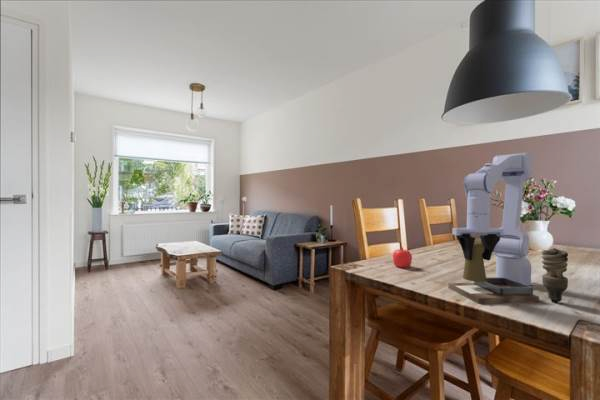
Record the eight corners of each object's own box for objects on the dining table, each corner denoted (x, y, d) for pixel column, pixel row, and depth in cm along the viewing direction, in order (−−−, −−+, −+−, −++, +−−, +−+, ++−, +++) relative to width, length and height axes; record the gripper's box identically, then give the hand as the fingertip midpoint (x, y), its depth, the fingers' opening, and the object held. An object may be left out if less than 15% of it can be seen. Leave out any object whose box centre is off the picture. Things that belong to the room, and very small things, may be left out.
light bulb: (539, 301, 77) (540, 247, 77) (541, 296, 81) (542, 245, 81) (567, 307, 73) (568, 250, 73) (567, 302, 77) (569, 248, 77)
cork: (466, 281, 81) (466, 243, 81) (460, 275, 87) (459, 240, 87) (490, 282, 79) (489, 244, 80) (481, 277, 85) (481, 241, 85)
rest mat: (476, 285, 86) (476, 285, 86) (493, 293, 79) (493, 292, 79) (455, 286, 85) (455, 285, 85) (471, 294, 78) (471, 293, 78)
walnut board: (500, 286, 90) (500, 282, 90) (538, 301, 77) (538, 296, 77) (448, 287, 88) (448, 283, 88) (478, 303, 75) (478, 298, 75)
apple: (416, 268, 112) (416, 249, 112) (397, 269, 111) (398, 249, 111) (406, 264, 120) (406, 245, 120) (388, 264, 119) (388, 245, 119)
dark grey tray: (503, 283, 89) (503, 277, 89) (534, 294, 78) (534, 287, 78) (473, 284, 88) (473, 277, 87) (500, 295, 77) (500, 288, 77)
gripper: (491, 213, 86) (490, 256, 86) (446, 212, 85) (445, 256, 85) (509, 214, 79) (508, 261, 79) (461, 214, 78) (460, 261, 78)
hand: (477, 259), depth 82 cm, fingers closed on cork, 5 cm apart
